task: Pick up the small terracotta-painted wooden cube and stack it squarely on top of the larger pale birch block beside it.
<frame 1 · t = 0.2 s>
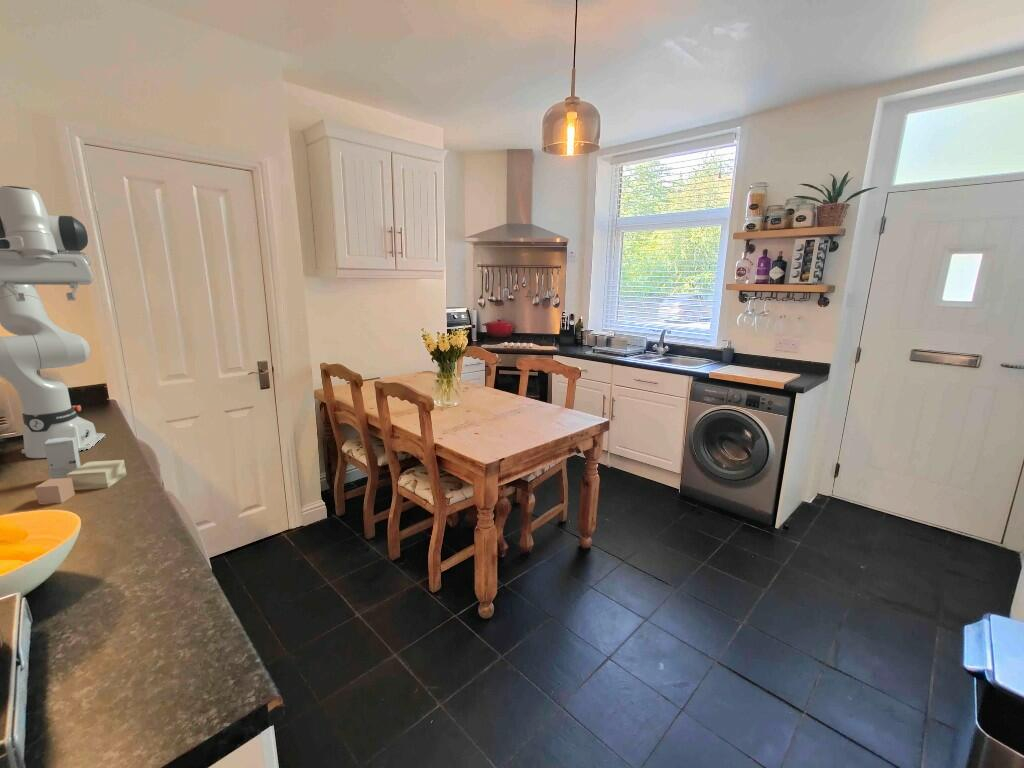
hand: (47, 300, 118), 52 cm above the countertop, tool tilted 20°, fingers open, 8 cm apart
birch block: (99, 482, 130), on the countertop
terracotta cube: (57, 499, 120), on the countertop
skincare box: (68, 479, 132), on the countertop
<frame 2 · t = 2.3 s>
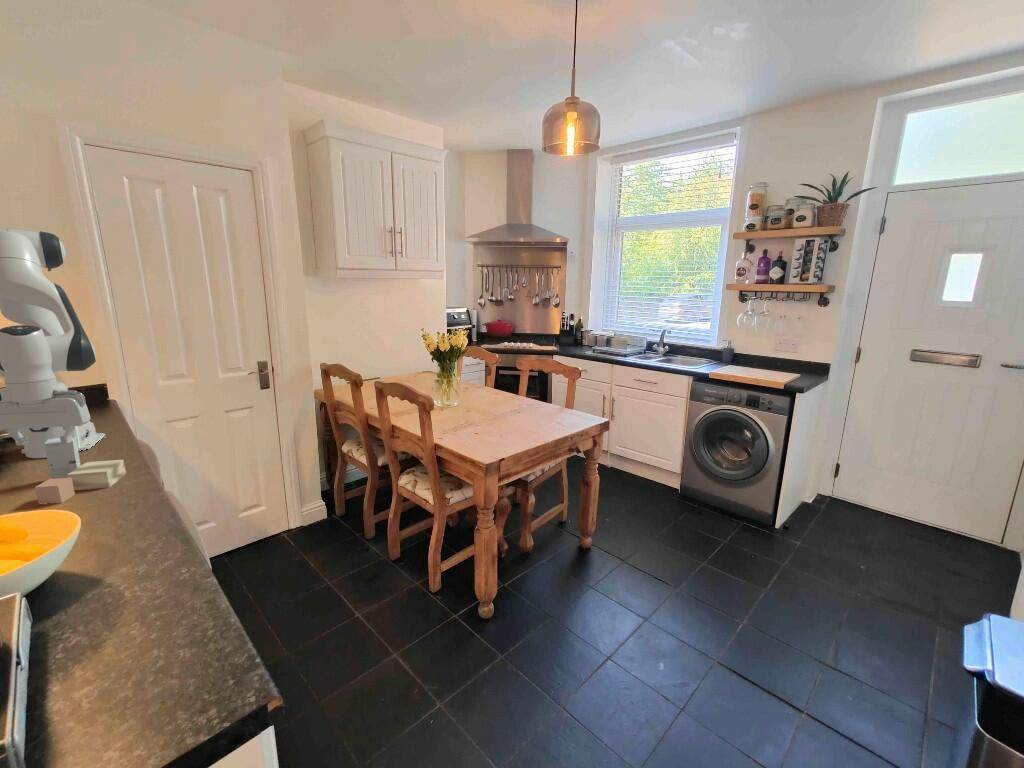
hand: (44, 443, 116), 16 cm above the countertop, tool pointing down, fingers open, 8 cm apart
nothing on the countertop moved.
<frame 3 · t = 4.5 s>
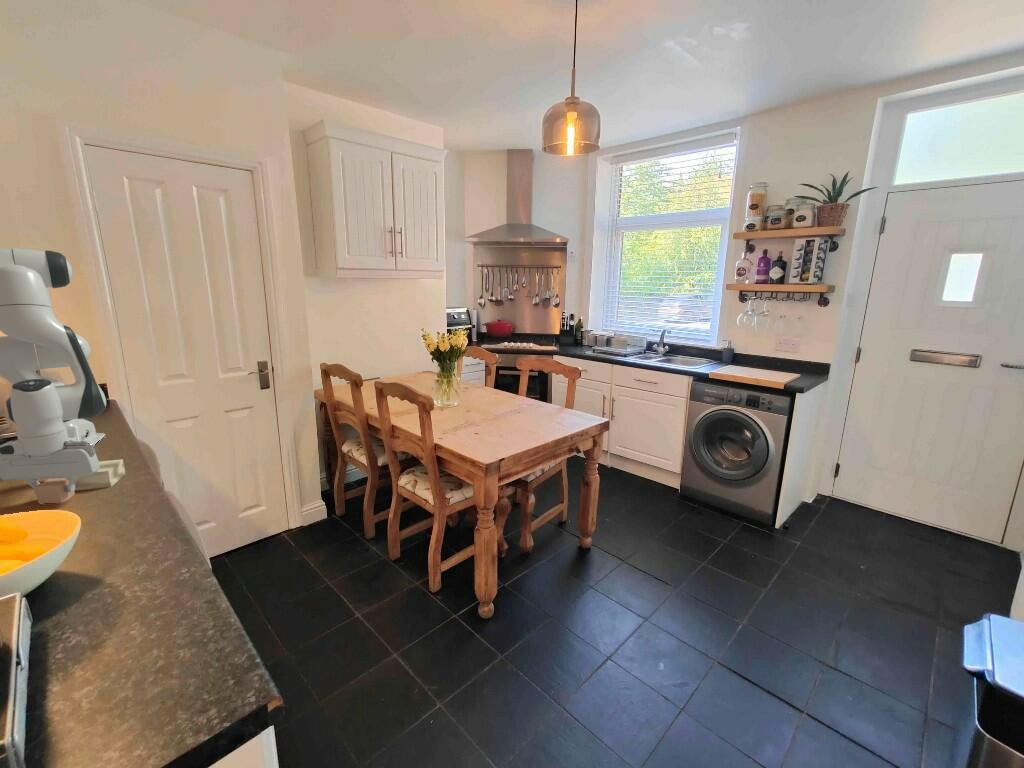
hand: (55, 492, 119), 2 cm above the countertop, tool pointing down, fingers closed on terracotta cube, 5 cm apart
terracotta cube: (57, 499, 120), on the countertop, touching gripper
everything else where it was.
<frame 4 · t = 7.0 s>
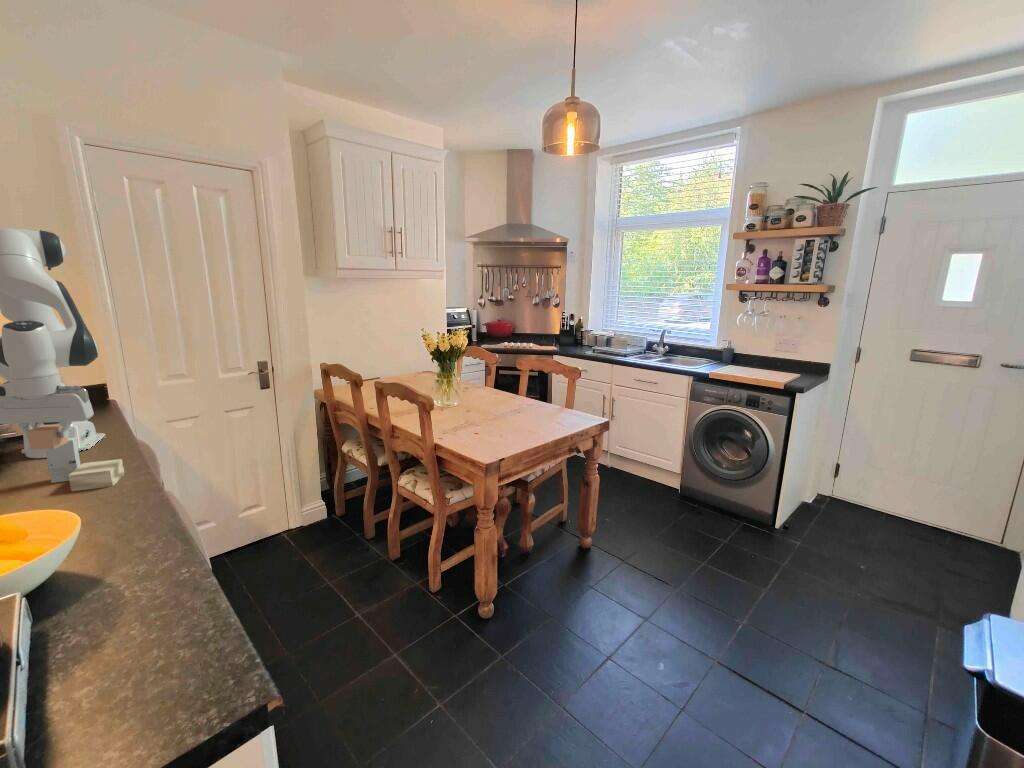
hand: (48, 438, 117), 17 cm above the countertop, tool pointing down, fingers closed on terracotta cube, 5 cm apart
terracotta cube: (50, 445, 117), point 15 cm above the countertop, touching gripper
everything else where it was.
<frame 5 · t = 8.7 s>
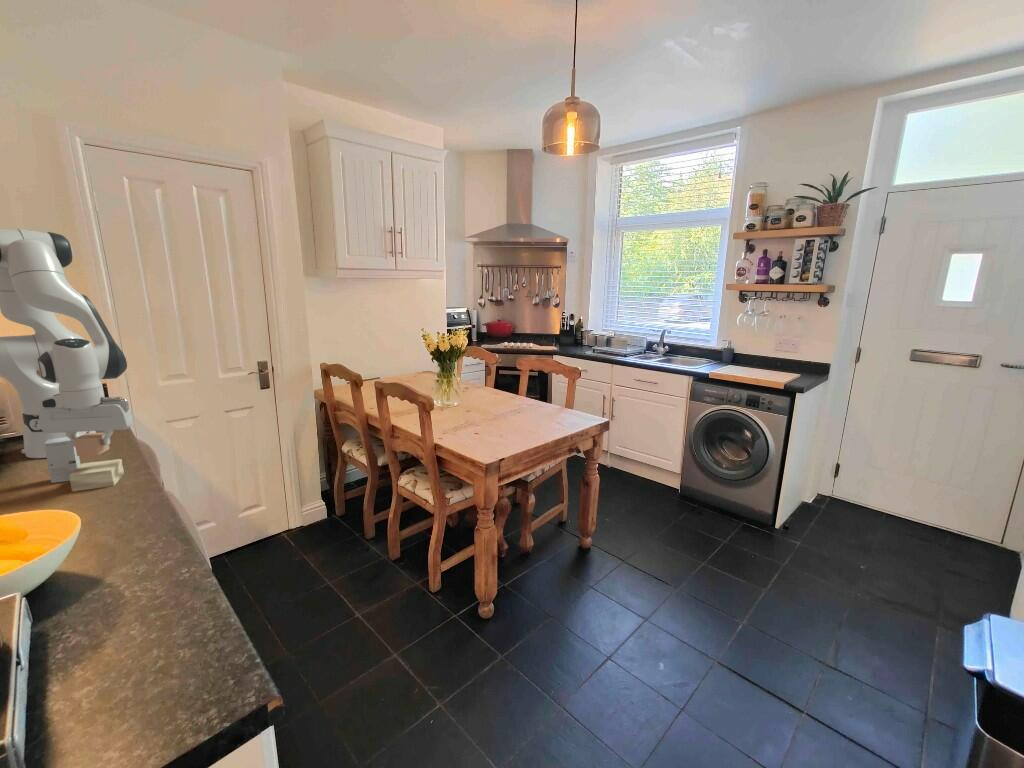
hand: (92, 445, 127), 11 cm above the countertop, tool pointing down, fingers closed on terracotta cube, 5 cm apart
terracotta cube: (93, 452, 128), point 9 cm above the countertop, touching gripper
everything else where it was.
when the fingers open (9 cm above the countertop, at t = 10.0 s): terracotta cube drops 2 cm, resting on birch block.
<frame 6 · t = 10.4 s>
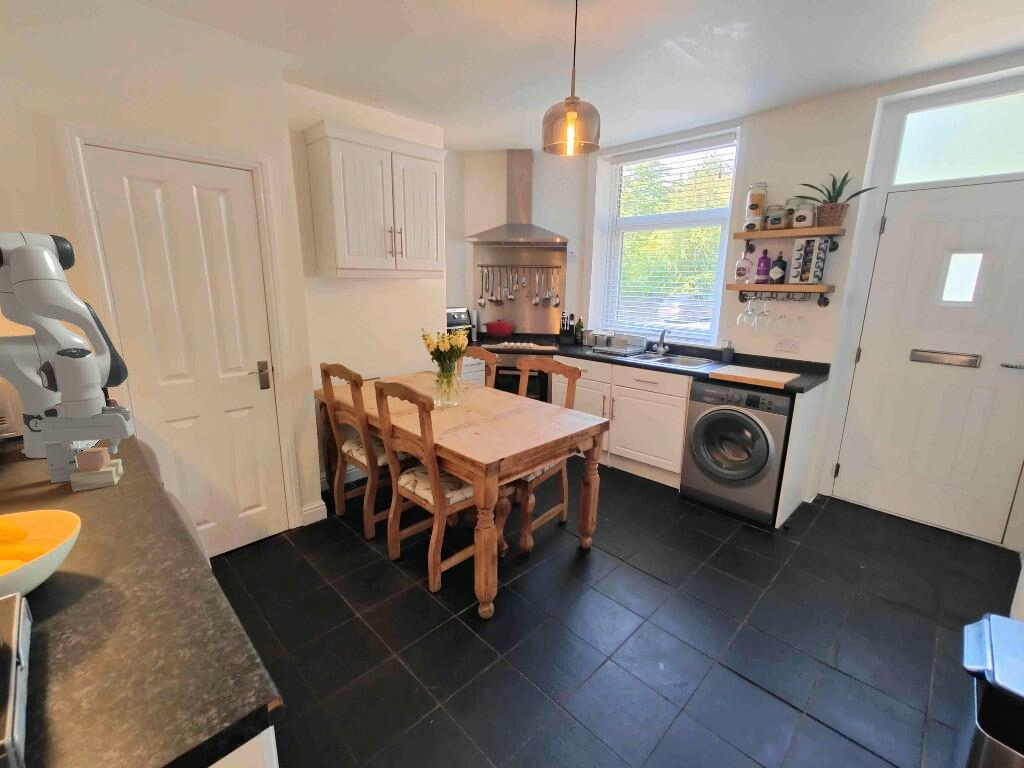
hand: (93, 454, 128), 9 cm above the countertop, tool pointing down, fingers open, 8 cm apart
birch block: (99, 483, 130), on the countertop, touching terracotta cube
terracotta cube: (95, 467, 129), point 5 cm above the countertop, touching birch block
everything else where it was.
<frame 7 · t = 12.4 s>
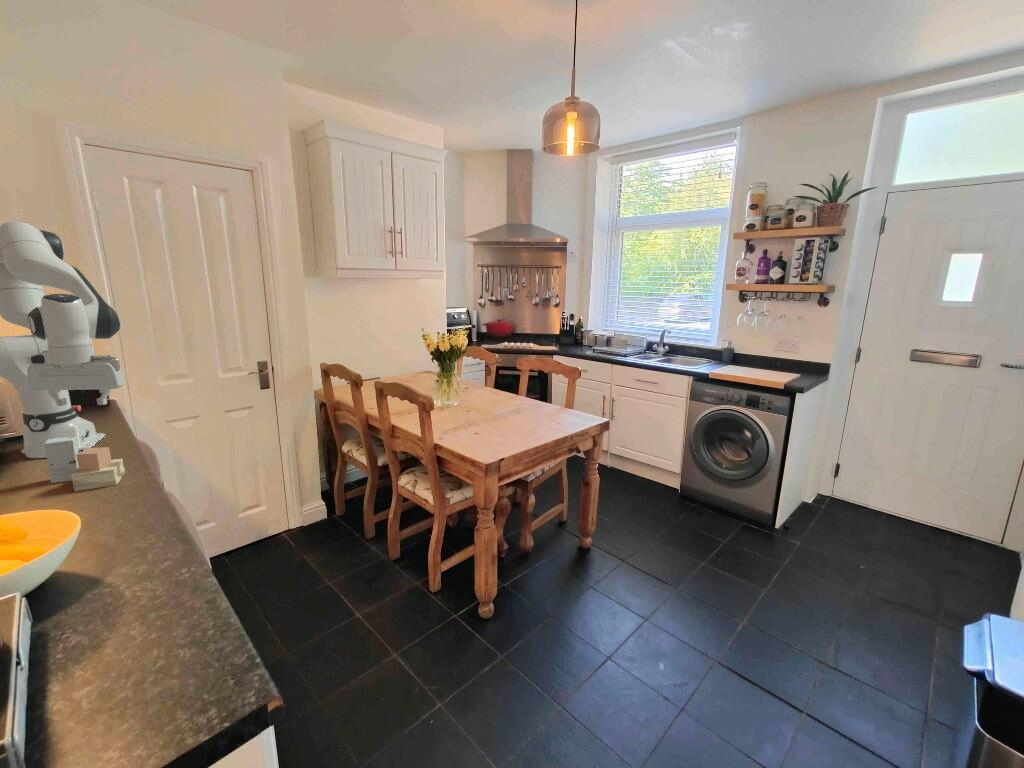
hand: (82, 404, 125), 23 cm above the countertop, tool pointing down, fingers open, 8 cm apart
nothing on the countertop moved.
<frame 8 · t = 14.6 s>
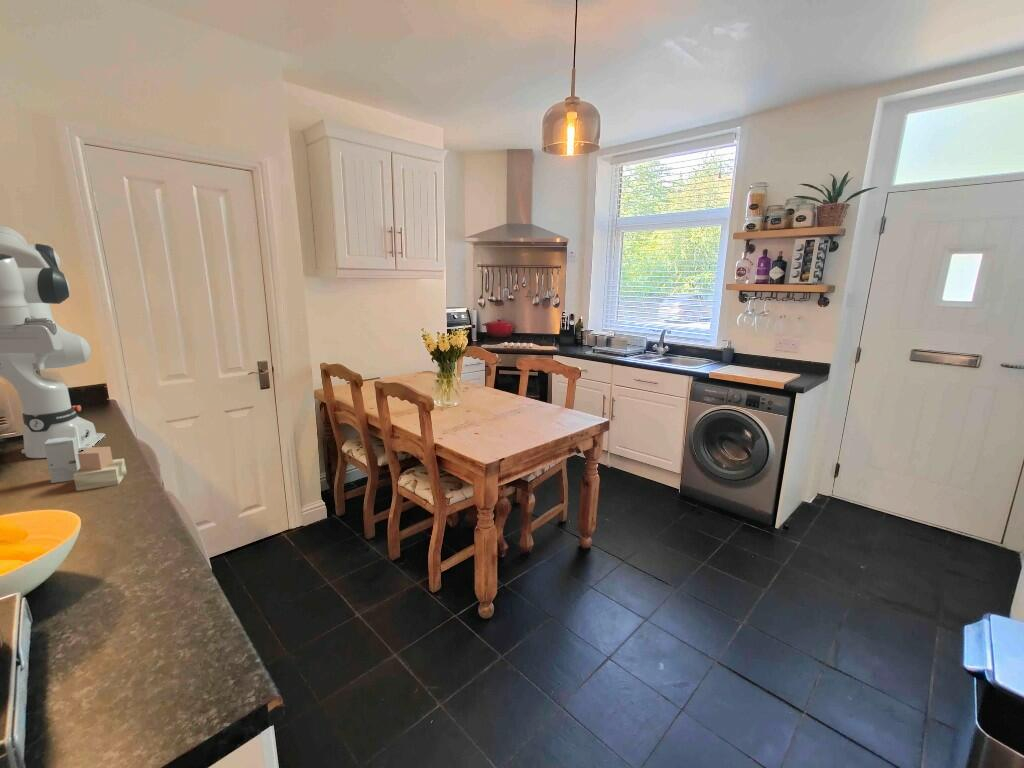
hand: (18, 369, 120), 33 cm above the countertop, tool pointing down, fingers open, 8 cm apart
nothing on the countertop moved.
at the end: terracotta cube 0.6 cm off-centre on the birch block, point 5.0 cm above the birch block's base; terracotta cube tilted 0°; the gripper is holding nothing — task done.
